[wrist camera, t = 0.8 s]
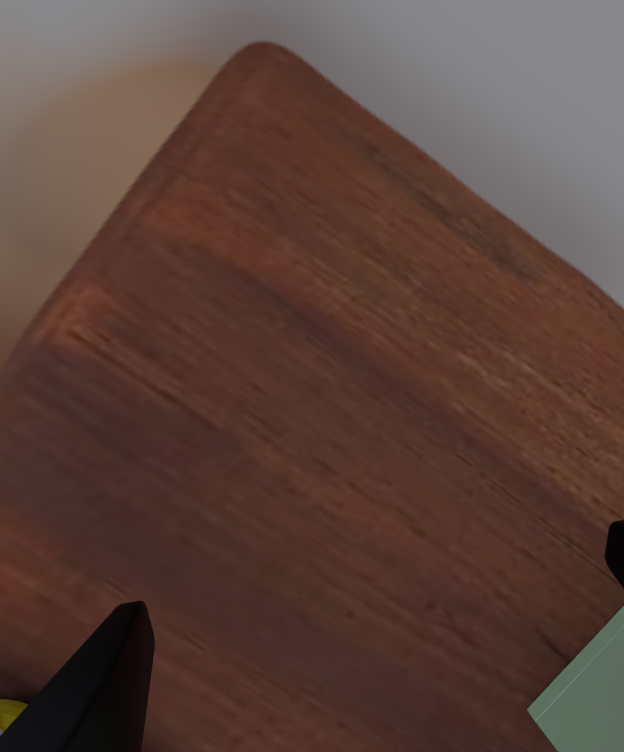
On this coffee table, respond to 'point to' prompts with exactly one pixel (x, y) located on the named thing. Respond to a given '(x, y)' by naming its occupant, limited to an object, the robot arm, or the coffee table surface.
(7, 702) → the donut
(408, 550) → the coffee table surface
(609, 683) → the cabinet
